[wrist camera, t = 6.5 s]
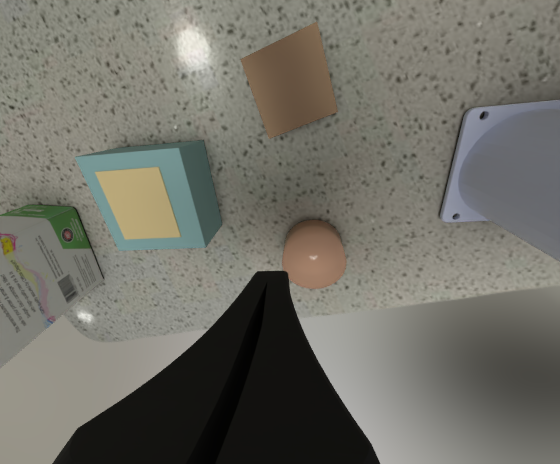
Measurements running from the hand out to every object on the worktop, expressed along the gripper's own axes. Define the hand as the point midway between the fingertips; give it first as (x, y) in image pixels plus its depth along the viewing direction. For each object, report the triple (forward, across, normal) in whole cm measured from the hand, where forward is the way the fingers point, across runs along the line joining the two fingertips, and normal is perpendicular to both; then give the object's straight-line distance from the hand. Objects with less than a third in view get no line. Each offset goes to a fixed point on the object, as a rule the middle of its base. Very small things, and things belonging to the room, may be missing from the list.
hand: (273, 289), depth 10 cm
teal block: (+8, +6, -2) cm, 10 cm away
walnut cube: (+10, -1, -8) cm, 13 cm away
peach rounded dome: (+10, -2, +4) cm, 11 cm away
